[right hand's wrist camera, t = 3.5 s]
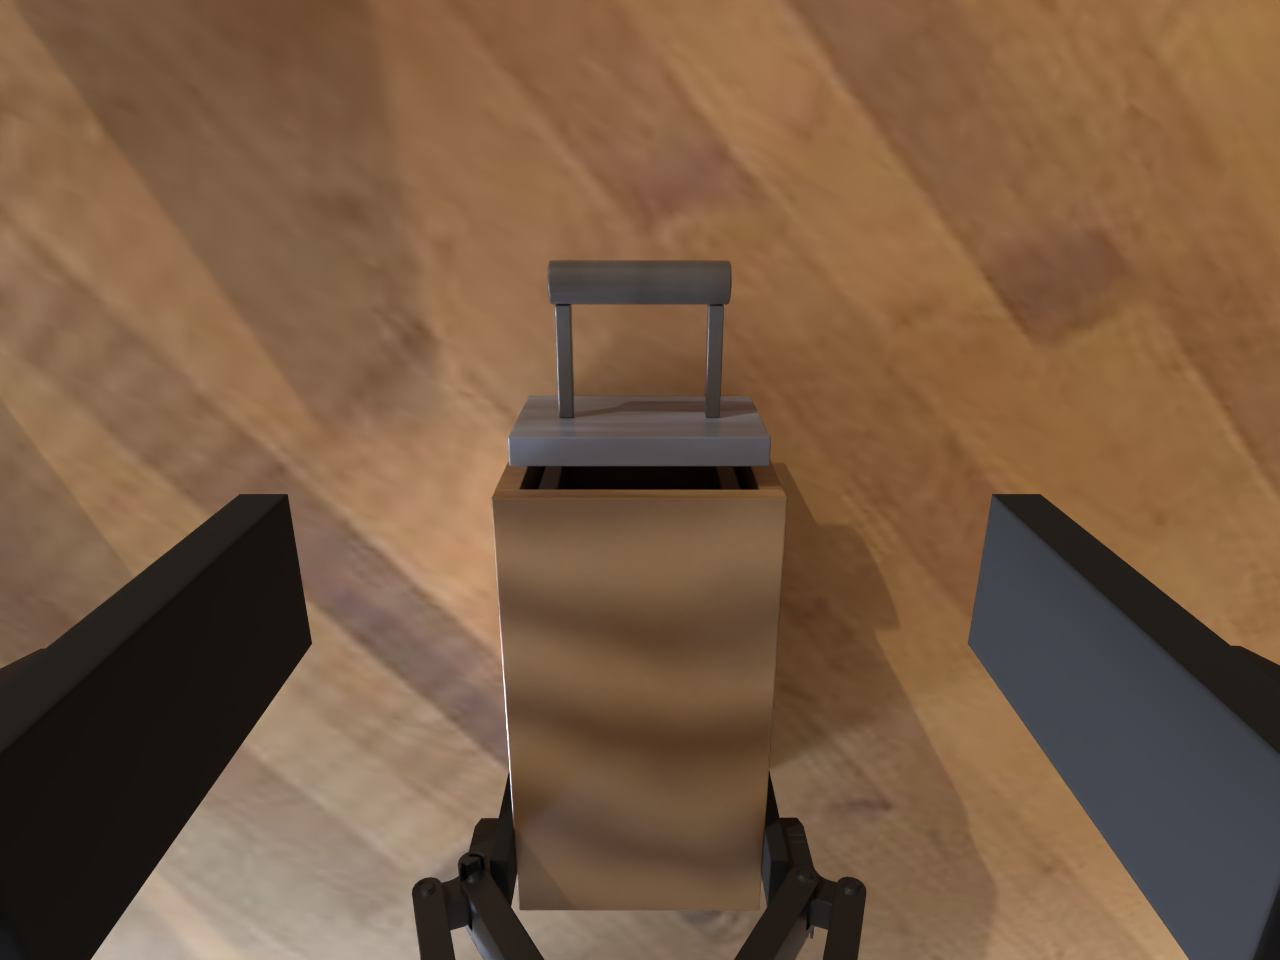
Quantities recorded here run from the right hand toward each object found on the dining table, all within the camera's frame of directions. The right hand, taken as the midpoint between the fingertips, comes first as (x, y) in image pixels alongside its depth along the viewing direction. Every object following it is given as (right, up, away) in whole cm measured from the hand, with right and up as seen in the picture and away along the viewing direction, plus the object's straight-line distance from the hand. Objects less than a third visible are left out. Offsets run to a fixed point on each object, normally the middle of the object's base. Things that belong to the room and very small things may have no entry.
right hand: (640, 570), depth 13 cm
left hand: (0, -14, +28) cm, 31 cm away
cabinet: (0, -6, +29) cm, 29 cm away
